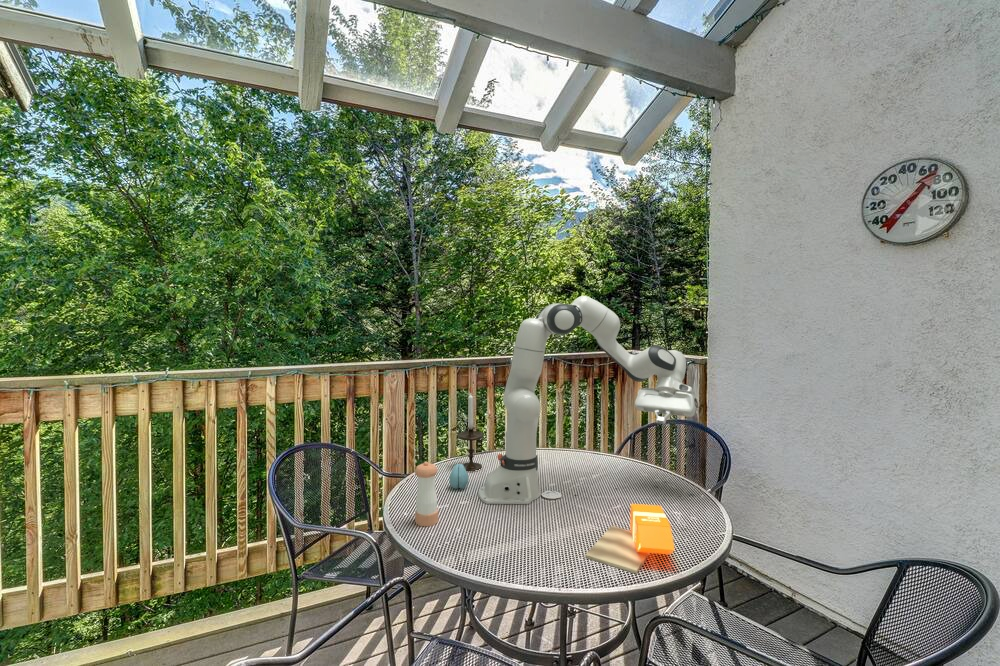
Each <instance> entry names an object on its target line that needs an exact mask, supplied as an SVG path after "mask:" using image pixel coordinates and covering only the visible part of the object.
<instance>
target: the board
mask: <svg viewBox="0 0 1000 666" xmlns="http://www.w3.org/2000/svg"><path fill="white" fill-rule="evenodd" d="M650 554H651V553H648V552H637V549H636V546H635V542H634V540H633V536H632V532H631V529H626V528H622V527H617V526H615V525H611V526H610V527H609V528H608V529H607V531H605V532H604V534H603V535H602V536H601V537H600V538H599V539H598V540H597V541H596V542H595V543H594V545H593V546H592V547H591V548H590V549H588V551H587V552H586V554H585V558H586V559H589V560H592V561H594V562H598V563H601V564H604V565H608V566H611V567H615V568H617V569H621V570H624V571H627V572H630V573H634V574H636V575H637V574H638V572H639V571H641V568H642V567H643V565H644V564H645V562H646V561H647V559H648V558H649V555H650Z"/></svg>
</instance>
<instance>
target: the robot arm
mask: <svg viewBox="0 0 1000 666" xmlns="http://www.w3.org/2000/svg"><path fill="white" fill-rule="evenodd" d="M577 327H581V328H582V329H584V330H586V331H587V332H588V333H589V334H591V336H593V337H594V338H595V339H596V340H595V341H596V343H597V345H598V347H599V348H600V349H601V350H602V351H603V352H604V353H605V354H606V355H608V357H610V358H611V359H612V361H614V362H615V363H616V365H618V366H619V367H621V369H622V370H623V371H624V372H625V374H626V375H627V376H628V378H629V379H631V380H632V381H635V382H638V383H641V382H642V383H643V382H644V381H646V380H648V379H650V378H651V377H653V376H657V380H656V384H655V388H651V387H642V388H639V389H638V391H637V394H636V395H637V396H636V399H635V401H634V407H635V408H636V410H637V411H640V412H647V413H654V414H655V417H656V418H655V423H657V424H662V425H666V424H667V423H666V422H667V420H669V418H671V416H679V417H685V418H686V417H687V418H693V417H694V416H695V413H696V402H695V393H694V389H693V388H692V386H691V385H690V386H689V385H687V384H684V383H683V380H684V379H685V376H686V375H685V374H686V370H687V360H686V359H687V358H686V357H685V354H684V353H682V352H681V351H679V350H675V349H671V350H668V349H666V348H664V347H663V346H661V345H658V344H654V345H650V346H649V347H647V348H645V349H644V350H643V351H640V352H638V353H637V354H631V353H630V352H629V351H628V350H626V349H625V347H623V346H622V345H621V344H620V343H619V342H618V341H617V337H618V335H619V332H620V330H621V320H620V318H619V316H618V314H616V313H615V312H614V311H613V310H611V309H610V308H608V307H607V306H605V304H603V303H601V302H599V301H598V300H596V299H594V298H593V297H592V298H591V297H590V296H587V295H581V296H578V297H577V298H575V299H574V300H573V301H572V303H571V304H569V303H568V304H567V303H560V302H559V303H558V302H556V303H550V304H548V305H546V306H544V307H543V308H542V309H541V310H540V312H538V314H537V316H535V318H534V317H529V318H526V319H524V320H523V321H522V322H521V323H520V326H519V328H518V331H517V334H516V338H515V342H514V347H513V353H512V359H511V365H510V370H509V373H508V378H507V380H506V384H505V388H504V393H503V396H502V402H503V406H504V407H505V409H506V410H507V426H506V432H505V454H504V455H503V454H502V453H499V454H497V459H498V461H499V462H500V465H499V466H497V467H496V468H494V470H492V471H491V472H490V473H488V474H487V475H486V477H485V481H484V486H480V488H479V489H478V497H480V498H479V499H480V500H481V502H483V503H485V504H487V505H529V504H531V503H532V501H535V500H536V499H538V498H539V497H541V495H542V492H541V490H540V485H539V479H538V468H539V460H538V458H539V457H538V455H537V433H538V432H537V431H538V426H539V418H540V415H541V414H540V413H541V409H542V408H541V403H540V399H539V397H538V396H537V395H536V393H535V391H536V387H537V385H538V382H539V379H540V377H541V375H542V371H543V366H544V365H543V364H544V360H545V359H544V358H545V353H546V347H547V346H546V345H547V342H548V339H549V337H550V336H551V335H559V336H565V335H568V334H570V333H571V332H573V331H574V330H575V329H576V328H577ZM660 414H663V415H664V416H660Z"/></svg>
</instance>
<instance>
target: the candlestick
mask: <svg viewBox="0 0 1000 666" xmlns="http://www.w3.org/2000/svg"><path fill="white" fill-rule="evenodd" d="M468 390H469V391H468V392H469V396H467V397H468V398H467V399H468V401H467V404H468V408H467V409H468V414H467V415H468V426H467V427H466V428H465V429H467V431H461V432H458V434H457V438H458V440H462V441H467V442H468V441H469V449H467V453H468V456H467V457H468V458H469V462H464V463H461V464H462V465H463V466H464V467H465V469H466V471H475V470H479V469H481V468H482V469H483V465H482V464H481V463H479V462H474V457H475V455H474V453H475V449H474V448H473V447H474V445H473V443H474V442H473V441H478V440H482V439H484V437H485V434H484V432H483V431H478V430H475V429H476V427H474V396H473V395H472V387H471V386H469V389H468ZM482 469H481V470H482ZM479 471H480V470H479Z"/></svg>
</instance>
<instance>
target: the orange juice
mask: <svg viewBox="0 0 1000 666" xmlns="http://www.w3.org/2000/svg"><path fill="white" fill-rule="evenodd" d="M629 521H630V522H629V523H630V526H629V528H630V529H629V530H630V531H631V532H632V536H633V540H634V542H635V546H636V549H637V552H648V553H650V554H659V555H662V554H663V555H671V554H672V553H673V552H674V551H675V550H676V549H675V545H674V537H673V534H672V533H673V532H672V526H671V524H670V522H669V520H668V517H667V516H666V513H665V512H664V510H663V508H662V506H661V505H653V504H641V503H639V504H638V503H630V520H629Z"/></svg>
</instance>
